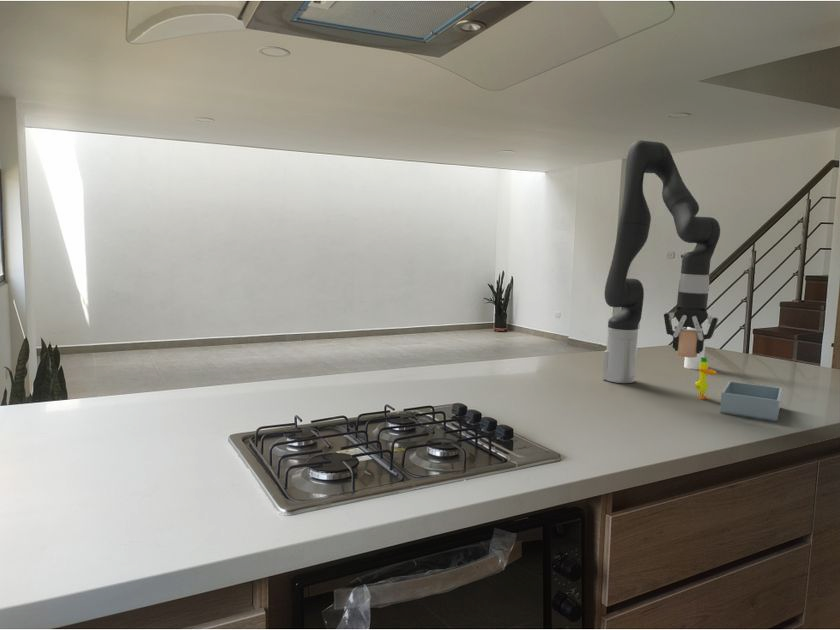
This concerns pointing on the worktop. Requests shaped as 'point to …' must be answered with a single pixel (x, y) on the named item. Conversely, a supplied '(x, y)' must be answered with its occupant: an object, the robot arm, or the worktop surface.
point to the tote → (751, 401)
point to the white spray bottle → (695, 361)
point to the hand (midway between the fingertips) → (687, 351)
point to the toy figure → (703, 377)
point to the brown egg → (687, 343)
